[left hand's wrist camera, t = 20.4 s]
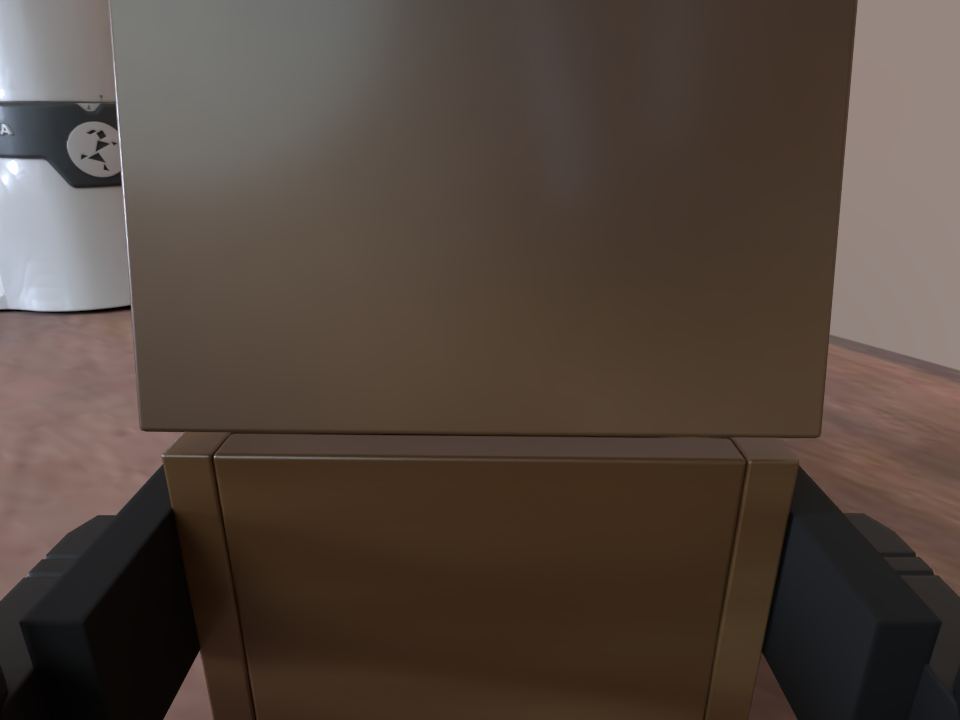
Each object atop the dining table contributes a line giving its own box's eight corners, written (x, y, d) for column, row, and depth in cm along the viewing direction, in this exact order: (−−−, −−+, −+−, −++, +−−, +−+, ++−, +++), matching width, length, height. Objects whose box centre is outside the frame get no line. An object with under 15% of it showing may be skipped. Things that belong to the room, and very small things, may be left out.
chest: (368, 480, 25) (352, 258, 22) (604, 482, 25) (621, 259, 22) (239, 856, 12) (159, 454, 9) (719, 866, 12) (801, 461, 9)
